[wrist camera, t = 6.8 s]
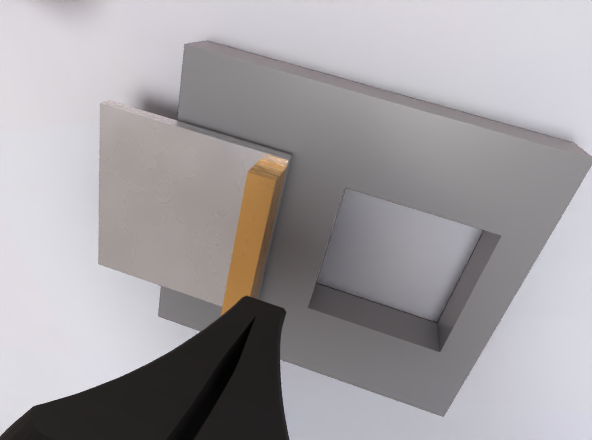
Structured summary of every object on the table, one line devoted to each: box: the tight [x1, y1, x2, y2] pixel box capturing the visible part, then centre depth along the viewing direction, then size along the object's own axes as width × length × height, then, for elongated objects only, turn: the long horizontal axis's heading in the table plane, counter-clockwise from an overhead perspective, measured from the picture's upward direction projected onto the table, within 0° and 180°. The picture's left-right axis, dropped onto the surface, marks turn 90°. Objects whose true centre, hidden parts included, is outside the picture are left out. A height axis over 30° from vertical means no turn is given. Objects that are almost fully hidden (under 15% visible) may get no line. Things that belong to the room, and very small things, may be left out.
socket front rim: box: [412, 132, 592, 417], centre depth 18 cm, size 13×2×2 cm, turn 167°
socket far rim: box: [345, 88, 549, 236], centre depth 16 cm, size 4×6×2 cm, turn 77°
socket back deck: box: [158, 41, 376, 363], centre depth 19 cm, size 13×7×2 cm, turn 167°
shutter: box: [98, 100, 292, 316], centre depth 17 cm, size 8×8×2 cm
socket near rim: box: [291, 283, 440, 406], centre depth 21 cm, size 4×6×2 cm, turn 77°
